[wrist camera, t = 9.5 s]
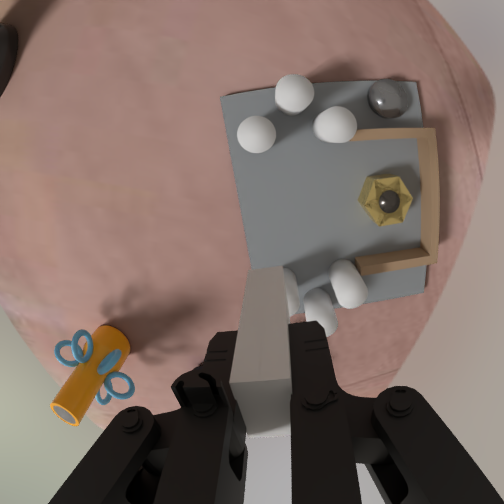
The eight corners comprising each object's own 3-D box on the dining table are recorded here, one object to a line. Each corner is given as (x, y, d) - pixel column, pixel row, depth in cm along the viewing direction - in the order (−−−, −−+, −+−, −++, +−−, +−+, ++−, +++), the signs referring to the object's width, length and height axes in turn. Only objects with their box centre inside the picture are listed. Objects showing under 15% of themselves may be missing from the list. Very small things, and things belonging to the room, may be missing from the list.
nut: (354, 178, 27) (361, 181, 24) (401, 172, 26) (411, 175, 24) (359, 221, 28) (366, 229, 26) (404, 214, 28) (414, 220, 25)
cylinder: (154, 375, 39) (120, 454, 26) (99, 366, 40) (57, 433, 26) (133, 307, 35) (75, 387, 21) (73, 303, 36) (12, 367, 22)
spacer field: (221, 98, 26) (208, 88, 20) (412, 83, 23) (439, 74, 18) (261, 314, 34) (258, 345, 28) (421, 289, 31) (441, 314, 26)
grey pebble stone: (363, 80, 23) (367, 78, 22) (399, 81, 23) (404, 79, 21) (370, 119, 24) (374, 118, 23) (405, 118, 24) (410, 118, 23)
